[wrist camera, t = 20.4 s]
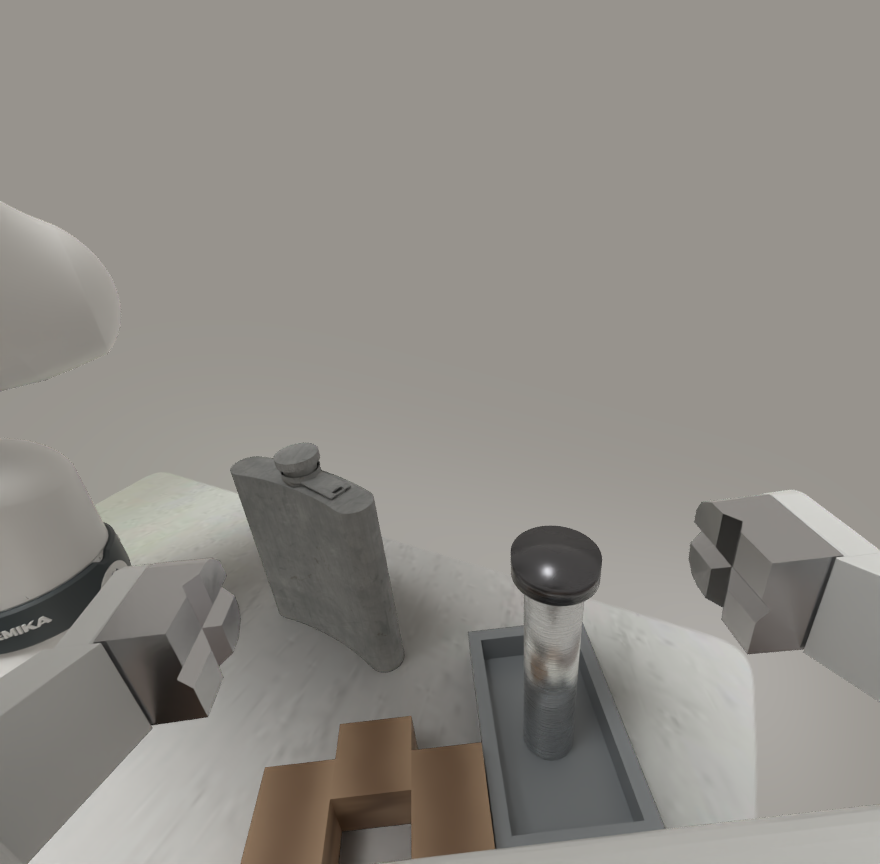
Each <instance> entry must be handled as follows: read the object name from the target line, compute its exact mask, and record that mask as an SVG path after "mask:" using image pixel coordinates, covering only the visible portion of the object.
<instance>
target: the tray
mask: <svg viewBox="0 0 880 864" xmlns="http://www.w3.org/2000/svg"><path fill="white" fill-rule="evenodd" d="M468 636H469V646H470V655H471V663H472V671H473V679H474V686H475V694H476V702H477V709H478V717H479V725H480V733H481V740H482V748H483V756H484V763H485V771H486V779H487V787H488V794H489V802H490V810H491V817H492V825H493V833H494V841H495V848H496V849H500V848H509V847H517V846H526V845H534V844H543V843H551V842H559V841H568V840H576V839H585V838H593V837H602V836H611V835H619V834H628V833H636V832H645V831H653V830H662V829H665V827H664V824H663V822H662V819H661V817H660V814H659V812H658V809H657V807H656V804H655V802H654V799H653V797H652V794H651V792H650V789H649V787H648V784H647V782H646V779H645V777H644V774H643V772H642V769H641V767H640V764H639V762H638V759H637V757H636V754H635V752H634V750H633V747H632V745H631V742H630V740H629V737H628V735H627V732H626V730H625V727H624V725H623V722H622V720H621V717H620V715H619V712H618V710H617V707H616V705H615V702H614V700H613V697H612V695H611V692H610V690H609V687H608V685H607V682H606V680H605V677H604V675H603V672H602V670H601V667H600V665H599V662H598V660H597V657H596V655H595V652H594V650H593V647H592V645H591V642H590V640H589V637H588V635H587V632H586V630H585V627H584V625H583V622H582V630H581V642H580V655H579V667H578V679H577V691H576V703H575V716H574V728H573V740H572V746H571V749H570V751H569V752H568V754H567V755H566V756H564V757H563V758H561V759H558V760H552V761H551V760H545V759H542V758H540V757H538V756H536V755H535V754H534V753H532V752H531V751H530V749H529V748H528V747H527V745H526V743H525V740H524V736H523V694H524V626H515V627H506V628H498V629H489V630H480V631H472V632H468Z"/></svg>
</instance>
